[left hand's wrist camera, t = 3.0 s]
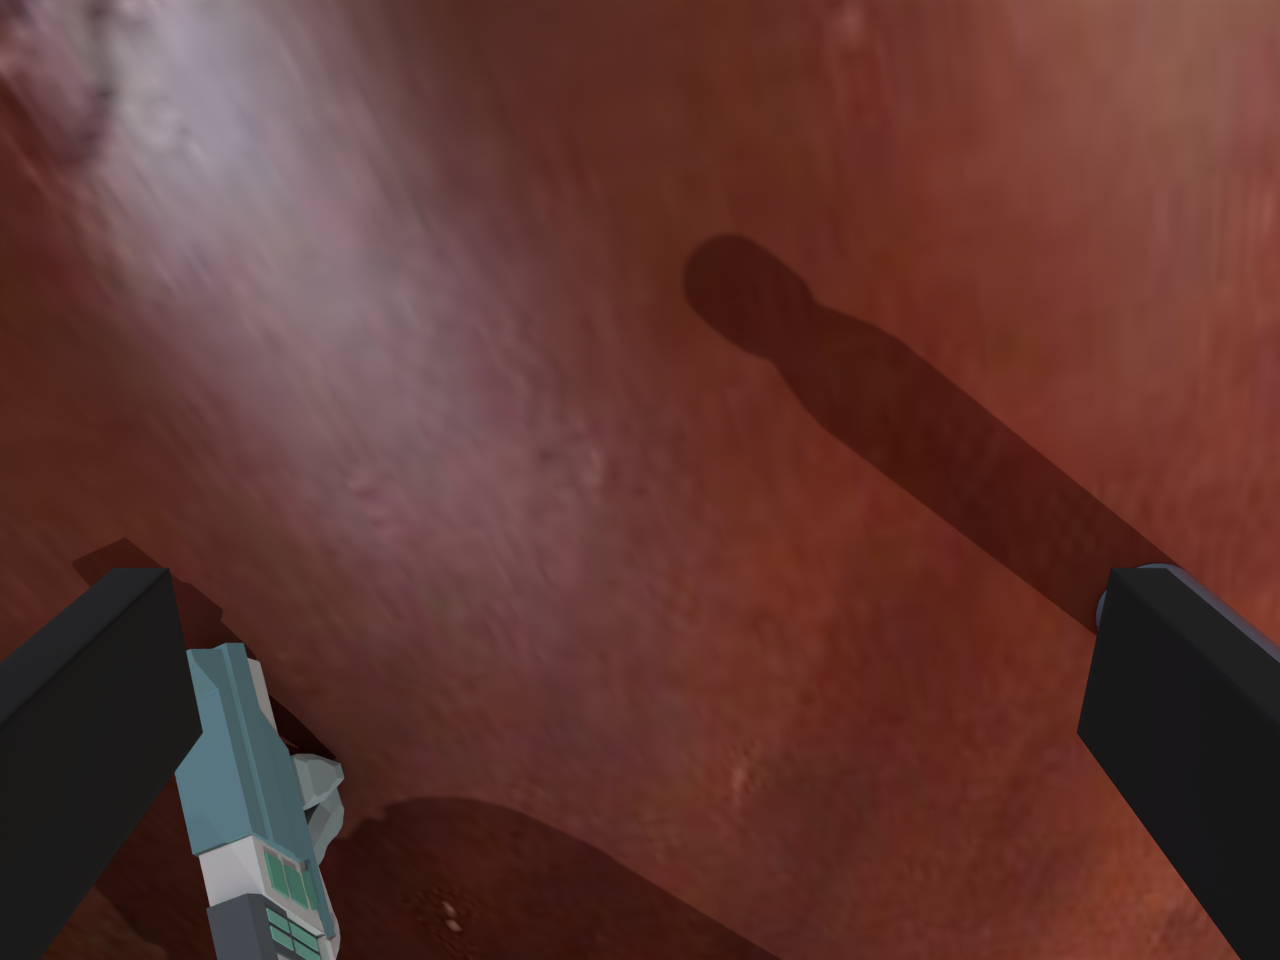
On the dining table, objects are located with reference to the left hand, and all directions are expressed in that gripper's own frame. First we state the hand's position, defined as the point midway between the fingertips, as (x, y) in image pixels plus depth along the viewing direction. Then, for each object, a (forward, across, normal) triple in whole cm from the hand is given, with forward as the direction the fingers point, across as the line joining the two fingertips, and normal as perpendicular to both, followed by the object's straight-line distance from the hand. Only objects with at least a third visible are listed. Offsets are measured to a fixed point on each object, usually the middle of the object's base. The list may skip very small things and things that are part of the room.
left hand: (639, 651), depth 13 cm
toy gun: (+28, +18, +23) cm, 40 cm away
